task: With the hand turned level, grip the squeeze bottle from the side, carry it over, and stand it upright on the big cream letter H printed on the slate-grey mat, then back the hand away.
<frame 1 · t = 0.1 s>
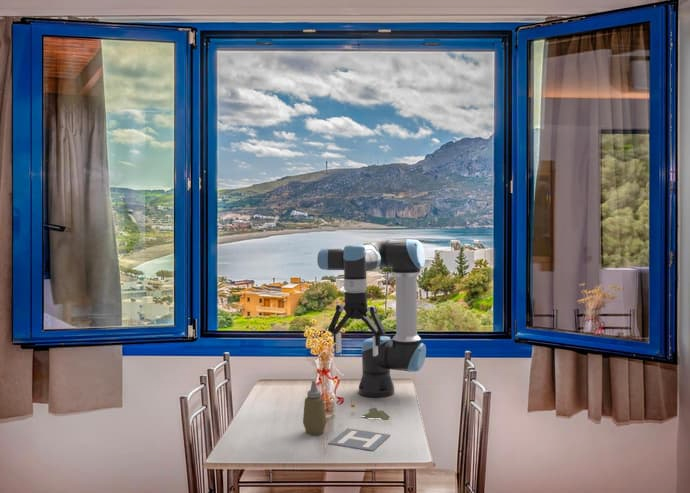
hand: (356, 354, 203), 28 cm above the table, tool pointing down, fingers open, 13 cm apart
squeeze bottle: (314, 433, 207), on the table
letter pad: (359, 439, 200), on the table
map: (375, 419, 222), on the table
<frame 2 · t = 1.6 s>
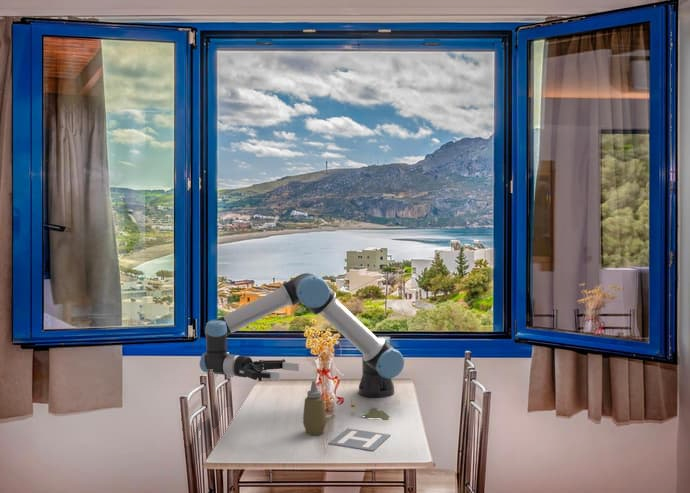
hand: (289, 371, 210), 20 cm above the table, tool horizontal, fingers open, 13 cm apart
nothing on the table moved.
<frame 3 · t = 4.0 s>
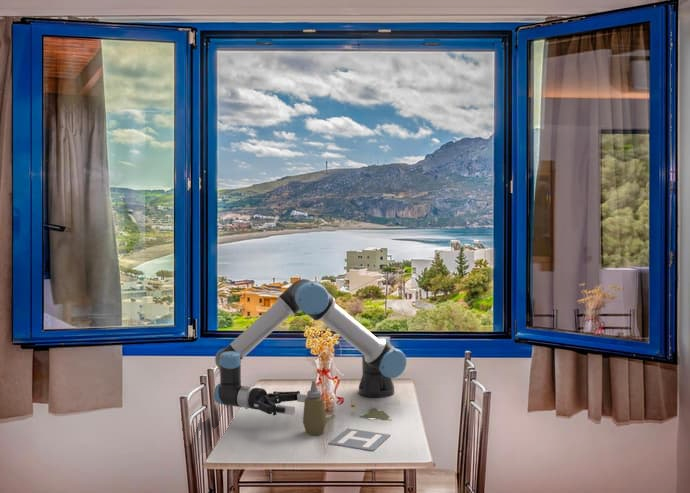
hand: (304, 405, 208), 9 cm above the table, tool horizontal, fingers open, 13 cm apart
nothing on the table moved.
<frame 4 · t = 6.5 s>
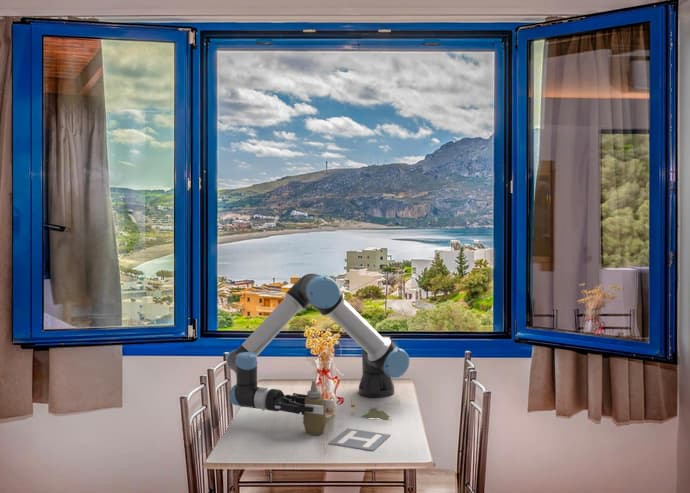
hand: (327, 407, 205), 10 cm above the table, tool horizontal, fingers closed on squeeze bottle, 6 cm apart
squeeze bottle: (314, 433, 207), on the table, touching gripper
everything else where it was.
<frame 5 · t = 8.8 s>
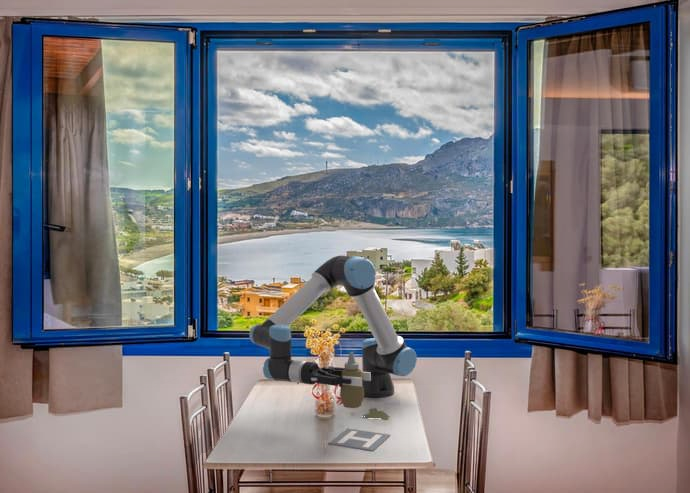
hand: (365, 379, 197), 21 cm above the table, tool horizontal, fingers closed on squeeze bottle, 6 cm apart
squeeze bottle: (352, 406, 200), point 11 cm above the table, touching gripper
everything else where it was.
when the fingers open (11 cm above the table, at t = 11.6 s): squeeze bottle drops 1 cm, resting on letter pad.
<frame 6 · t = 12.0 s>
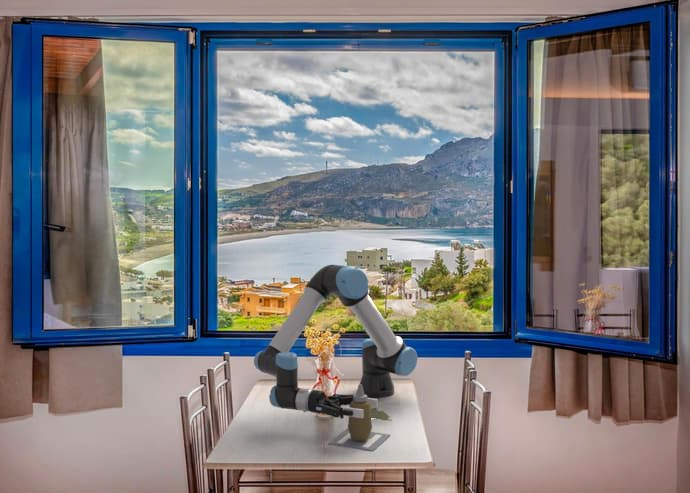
hand: (370, 408, 198), 11 cm above the table, tool horizontal, fingers open, 11 cm apart
squeeze bottle: (359, 439, 200), resting on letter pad
everything else where it was.
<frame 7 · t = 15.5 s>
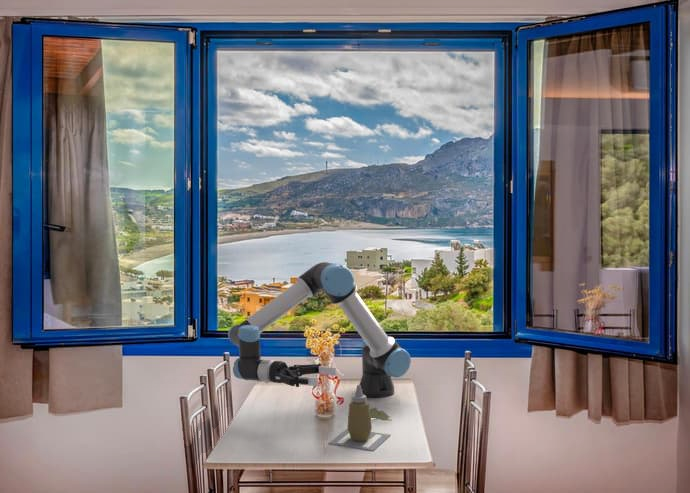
hand: (327, 376, 204), 20 cm above the table, tool horizontal, fingers open, 13 cm apart
nothing on the table moved.
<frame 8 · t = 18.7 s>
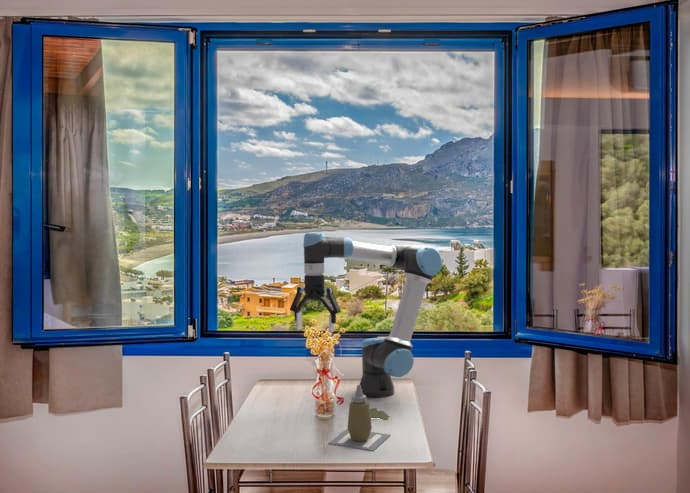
hand: (315, 330, 225), 32 cm above the table, tool pointing down, fingers open, 13 cm apart
nothing on the table moved.
at the end: squeeze bottle inside the target area on the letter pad (0.0 cm from its centre), point 0.1 cm above the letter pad's base; squeeze bottle tilted 0°; the gripper is holding nothing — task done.
